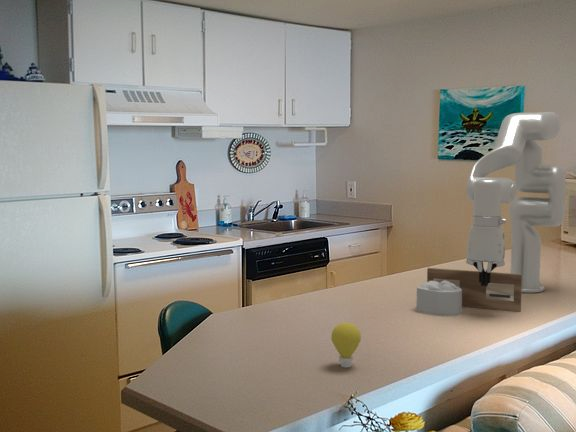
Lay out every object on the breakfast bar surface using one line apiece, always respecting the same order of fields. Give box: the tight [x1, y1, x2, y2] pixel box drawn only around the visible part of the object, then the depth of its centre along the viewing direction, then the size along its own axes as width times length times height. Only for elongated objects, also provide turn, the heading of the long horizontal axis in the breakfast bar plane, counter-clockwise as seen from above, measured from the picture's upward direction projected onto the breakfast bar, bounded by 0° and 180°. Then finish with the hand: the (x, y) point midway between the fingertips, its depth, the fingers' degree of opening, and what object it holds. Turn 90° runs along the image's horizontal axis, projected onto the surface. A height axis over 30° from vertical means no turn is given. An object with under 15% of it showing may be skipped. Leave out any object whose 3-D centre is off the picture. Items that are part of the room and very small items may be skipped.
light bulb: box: [330, 321, 362, 368], centre depth 157 cm, size 7×7×10 cm
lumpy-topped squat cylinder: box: [416, 281, 463, 317], centre depth 207 cm, size 10×13×9 cm
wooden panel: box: [426, 267, 522, 313], centre depth 212 cm, size 2×28×11 cm, turn 66°
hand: (484, 285), depth 200 cm, fingers closed
